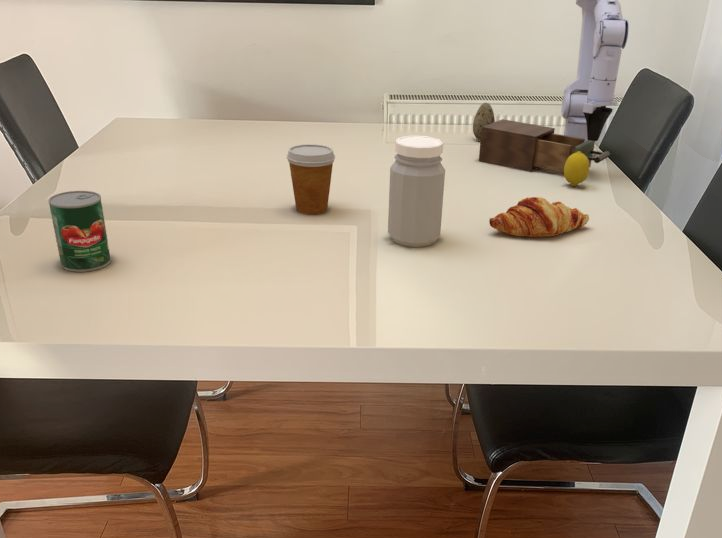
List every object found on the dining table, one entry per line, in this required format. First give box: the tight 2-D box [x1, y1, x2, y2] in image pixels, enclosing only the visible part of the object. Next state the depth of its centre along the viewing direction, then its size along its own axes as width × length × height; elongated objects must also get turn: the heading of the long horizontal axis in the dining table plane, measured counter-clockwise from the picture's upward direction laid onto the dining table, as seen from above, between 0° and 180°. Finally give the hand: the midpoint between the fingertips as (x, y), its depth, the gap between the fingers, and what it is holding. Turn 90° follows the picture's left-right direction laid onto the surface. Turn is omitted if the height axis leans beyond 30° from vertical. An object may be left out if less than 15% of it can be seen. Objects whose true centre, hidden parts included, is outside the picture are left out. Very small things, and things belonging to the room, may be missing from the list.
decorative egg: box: [472, 102, 496, 142], centre depth 204 cm, size 6×6×10 cm
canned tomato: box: [48, 190, 112, 273], centre depth 123 cm, size 8×8×11 cm
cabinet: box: [478, 118, 556, 173], centre depth 187 cm, size 14×11×8 cm
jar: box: [387, 135, 446, 248], centre depth 136 cm, size 10×10×18 cm
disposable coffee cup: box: [286, 143, 336, 215], centre depth 150 cm, size 10×10×12 cm
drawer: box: [533, 132, 611, 173], centre depth 181 cm, size 18×10×7 cm, turn 56°
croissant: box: [488, 196, 590, 238], centre depth 145 cm, size 21×10×8 cm, turn 108°
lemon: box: [563, 151, 590, 187], centre depth 171 cm, size 6×6×8 cm
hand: (592, 140), depth 176 cm, fingers closed
